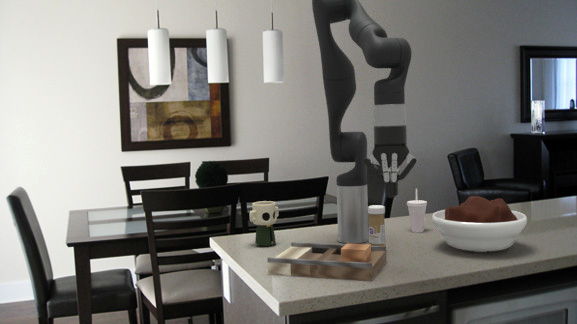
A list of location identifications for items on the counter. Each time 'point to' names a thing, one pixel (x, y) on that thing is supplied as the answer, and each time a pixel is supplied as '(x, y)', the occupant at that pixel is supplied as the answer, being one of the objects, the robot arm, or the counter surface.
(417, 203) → the smoothie
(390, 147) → the robot arm
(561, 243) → the counter surface
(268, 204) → the character mug
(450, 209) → the chocolate pudding bowl
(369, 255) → the terracotta block
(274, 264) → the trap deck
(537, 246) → the counter surface
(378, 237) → the sprinkles bottle
